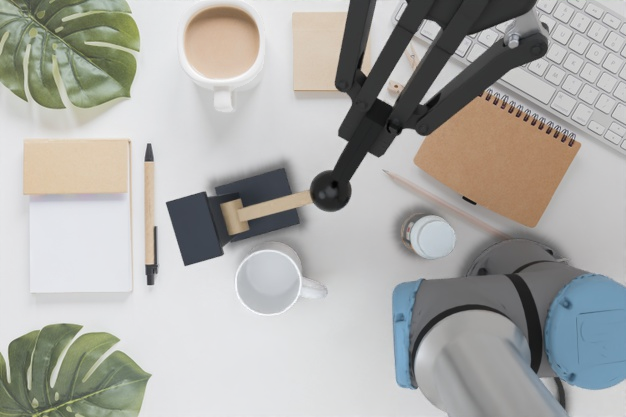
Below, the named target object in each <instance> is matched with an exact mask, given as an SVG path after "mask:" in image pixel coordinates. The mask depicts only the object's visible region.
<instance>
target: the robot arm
mask: <svg viewBox="0 0 626 417" xmlns="http://www.w3.org/2000/svg"><path fill="white" fill-rule="evenodd" d="M377 2H378V0H349V2H348V3H349V4H348V9H347V14H346V20H345V25H344V29H343V30H344V31H343V35H342V41H341V45H340V52H339V56H338V57H339V58H338V62H337V67H336V72H335V78H334V87H335V89H336V91H338V92H340V93H344V94H346V95H348V97H349V98H350V100H351V105H350V107H349V109H348V111H347V113H346V115H345V116H344V117H343V120H342V122H341V124H340V126H339V128H338V130H337V137H339V138H341V139H343V140H345V141H346V142H347V143H346V145H345V146H344V148H343V150H342V152H341V154H340V155H339V157H338V159H337V161H336V163H335V165H334V167H333V169H332V170H333V171H332V173H331V175H330V177H332V178H334V179H335V180H337V181H339V182H341V183H343V184H345V185H346V186H347V184H348V183H349V182H351V180H352V178H353V176H354V175H355V173H356V172H357V170H358V169H359V167H360V166H361V164H362V162H363V160H364V159H365V157H366V156H367V154H368V153H369V154H371V155H372V156H374V157H376V158H378V159H379V158H381V157H382V156H384V155H385V154H386V152H388V150H389V148H390V146H391V145H392V143H393V142H394V140H395V139H396V138H397V137H398V136H400V135H401V134H402V132H403V130H406V129H407V130H412V131H415V133H416V134H417V135H419V136H420V137H421V136H422V137H427V136H429V135H431V134H433V133H434V132H435V131H436V130H438V129H440V127H442V126H443V125H444V124H445V123H446V122H447V121H449V120H450V119H451V118H452V117H454V116H455V115H456V114H457V113H459V112H460V111H461V110H463V109H464V108H465V107H466V106H468V105H469V104H471V102H473V101H474V100H475V99H476V98H477V97H479V96H480V95H481V94H483V93H484V92H485V91H486V90H488V89H489V88H490V87H491V86H492V85H494V84H495V83H496V82H498V81H499V80H500V79H502V78H503V77H504V76H506V74H508V73H509V72H510V71H511V70H514V69H517V68H519V67H522V66H524V65H527V64H531V63H533V62H535V61H537V60H540V59H542V58H543V57H545V56H546V55H547V53H548V50H549V38H550V27H549V25H548V24H547V23H546V22H544V21H541V19H540V17H539V15H538V12H537V9H536V7H535V6H536V4H537V3H538V0H405V2H406V3H407V4H406V6H405V8H404V10H403V11H402V14H401V15H400V17H399V19H398V21H397V22H396V24H395V26H394V27H393V30H392V32H390V35H389V37H388V39H387V40H386V42H385V43H384V46H383V48H382V49H381V51H380V53H379V55H378V57H377V58H376V60H375V62H374V64H373V65H372V67H371V69H370V71H369V72H368V75H366V74H365V73H364V72H363V71H362V68H363V64H364V59H365V55H366V49H367V45H368V40H369V36H370V33H371V32H370V31H371V28H372V22H373V18H374V14H375V11H376V6H377ZM424 20H425V21H426V20H427V21H430V22H434V23H435V24H436V25H438V26H439V27H440V29H439V30H438V32H437V34H436V35H435V36H434V38H433V40H432V42H431V43H430V45H429V46H428V48H427V50H426V51H425V53H424V55H423V56H422V58H421V59H420V60H419V62H418V64H417V66H416V67H415V69H414V70H413V73H412V74H411V75H410V77H409V79H408V80H407V82H406V83H405V85H404V87H403V88H402V90H401V91H400V93H399V95H398V96H397V98H396V99H395V101H394V104H393V105H391V104H390V103H387V102H385V101H384V100H382V99H380V98H378V96H379V95H380V94H381V92H382V89H383V88H384V86H385V85H386V83H387V81H388V80H389V78H390V77H391V75H392V73H393V71H394V70H395V68H396V66H397V64H398V63H399V61H400V59H401V58H402V56H403V54H404V52H405V51H406V49H407V48H408V46H409V45H410V44H411V41H412V39H413V38H414V36H415V35H416V33H417V32H418V30H419V28H420V27H421V25H422V24H423V22H424ZM511 20H513V21H512V22H510V24H508V25H507V26H506V27H505V31H504V33H503V34H504V35H503V36H502V37H501V38H499V39H498V40H497V41H495V42H494V43H493V44H492V45H490V46H489V47H488V48H487V49H486V50H484V52H482V53H481V54H480V55H479V56H477V57H476V59H474V60H473V61H472V62H471V63H469V65H467V66H466V67H465V68H464V69H463V70H461V72H459V73H458V74H457V75H456V76H454V77H453V79H451V80H450V81H449V82H447V84H445V85H444V86H443V87H442V88H441V89H439V91H438V92H436V93H435V94H434V95H433V96H431V98H429V99H428V100H427V101H426V102H424V104H421V102H422V101H423V98H425V96H426V94H427V93H428V92H429V90H430V88H431V87H432V85H433V84H434V83H435V81H436V79H437V78H438V77H439V75H440V73H441V72H442V71H443V69H444V67H445V66H446V64H447V63H448V61H449V60H450V59H451V57H452V56H454V54H455V53H456V52H457V50H458V48H459V47H460V46H461V44H462V43H463V41H464V39H466V37H467V36H472V35H476V34H478V33H481V32H483V31H486V30H488V29H491V28H493V27H496V26H500V25H501V24H504V23H507V22H509V21H511ZM570 260H572V258H568V257H562V256H561V254H559V253H558V252H557V251H555V250H554V249H552V248H551V247H549V246H547V245H545V244H544V243H540V242H538V241H535V240H530V239H525V238H512V239H506V240H502V241H499V242H497V243H494V244H492V245H490V246H489V247H488V248H486V249H484V250H483V251H482V252H481V253H480V254H479V255H478V256H477V257H476V258H475V259H474V261H473V263H472V264H471V265H470V267H469V270H468V271H467V274H466V276H462V277H461V276H460V277H458V276H457V277H445V278H432V279H426V278H419V279H417V280H413V281H403V282H401V283H398V284H397V285H395V286H394V287H393V290H392V293H391V313H392V314H391V316H392V319H391V320H392V339H393V341H392V342H393V357H394V372H395V375H394V376H395V382H396V384H397V386H398V387H400V388H402V389H409V390H413V391H414V390H418V389H419V390H420V392H421V394H422V395H423V397H424V398H425V399H426V400H427V401H428V403H430V404H431V405H432V406H434V407H435V408H437V410H440V411H442V412H443V413H446V415H447V416H448V417H571V416H570V414H569V413H568V412H567V411H566V394H565V388H564V385H563V382H565V383H566V384H568V385H570V386H572V387H574V386H575V387H577V388H579V389H583V390H590V391H600V390H606V389H610V388H613V387H615V386H617V385H618V384H621V383H622V382H624V381H625V380H626V286H625V285H623V284H621V283H620V282H618V281H616V280H615V279H613V278H611V277H609V276H607V275H605V274H602V273H595V272H590V271H588V270H584V269H581V268H577V267H574V266H570V265H569V264H568V263H567V261H570ZM546 378H553V379H554V382H555V384H556V387H557V391H558V396H559V397H558V398H559V401H558V399H557V398H556V397H555V395H553V393H552V392H551V391H550V390H549V388H547V386H546V385H545V383H544V382H543V381H542V380H541V379H546ZM562 381H563V382H562Z"/></svg>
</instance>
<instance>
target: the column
mask: <svg viewBox="0 0 626 417" xmlns="http://www.w3.org/2000/svg"><path fill="white" fill-rule="evenodd" d="M237 199H240V196H239V193H238V192H236V193H229V194H223V195H217V194H216V195H211V196H210V195H209V196H208V193H207V190H206V191H204V190H203V191H199V192H196V193H193V194H190V195H189V194H188V195H185V196H182V197H178V198H175V199H172V200H167V201H165V207H166V209H167V212H168V216H169V219H170V222H171V225H172V229H173V233H174V237H175V240H176V242H177V245H178V249H179V253H180V257H181V259H182V263H183V266H184V267H188V266H191V265H194V264H198V263H202V262H206V261H210V260H212V259H216V258H220V257H222V256H224V255H225V251H224V247H226V245H227V244H229V243H231V242H230V241H231V240H232V239H233V238H235V237H236V236H237V235H238V234H240V233H237V234H234V235H229V234H228V231H227V228H226V224H225V221H224V217H223V214H222V210H221V207H220V204H223V203H226V202H230V201H233V200H237Z"/></svg>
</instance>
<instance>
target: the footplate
mask: <svg viewBox="0 0 626 417" xmlns="http://www.w3.org/2000/svg"><path fill="white" fill-rule="evenodd" d="M214 191H215V194H216V195H223V194H229V193H236V192H238V193H239V196H240V199H241V201H242V205H243V208H244V207H248V206H251V205H255V204H259V203H262V202H266V201H270V200H273V199H277V198H280V197H284V196H288V195H291V194H293V193H292V189H291V186H290V183H289V178H288V175H287V172H286V168H285V167H282V168H278V169H275V170H274V169H273V170H272V171H267V172H264V173H261V174H257V175H254V176H250V177H246V178H243V179H239V180H236V181H233V182H232V181H231V182H230V183H225V184H222V185H218V186H215V187H214ZM247 222H248V226H249V230H247V231H244V232H241V233H240V234H238V235H237V236H236V237H235V238H233V239H232V240H231V241H230V242H229V243H231V244H232V243H236V242H239V241H242V240H246V239H249V238H254V237H257V236H260V235H263V234H267V233H271V232H274V231H278V230H281V229H286V228H289V227H291V226H296V225H299V224H300V223H301V221H300V217H299V214H298V211H297V208H293V209H289V210H285V211H282V212H278V213H274V214H270V215H266V216H263V217H259V218H255V219H251V220H247Z"/></svg>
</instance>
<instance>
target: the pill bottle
mask: <svg viewBox="0 0 626 417" xmlns="http://www.w3.org/2000/svg"><path fill="white" fill-rule="evenodd" d="M400 237H401V240H402V243H403V245H404V246H405V247H406V248H407V249H408V250H409V251H411V252H413V253H415V254H416V255H418V256H420V257H421V258H424V259H426V260H437V259H441V258H444V257H447V256H449V255H450V254H452V252H453V251H454V249H455V246H456V244H457V234H456V232H455V229H454V228H453V227H452V225H450V223H449V222H448V221H447V220H446V219H444V217H441V216H439V215H434V214H431V213H426V212H417V213H413V214H410V216H407V218H406V219H405V220H404V221H403V223H402V226H401V228H400Z"/></svg>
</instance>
